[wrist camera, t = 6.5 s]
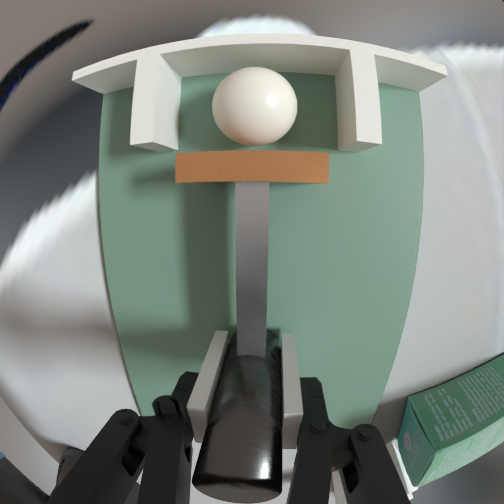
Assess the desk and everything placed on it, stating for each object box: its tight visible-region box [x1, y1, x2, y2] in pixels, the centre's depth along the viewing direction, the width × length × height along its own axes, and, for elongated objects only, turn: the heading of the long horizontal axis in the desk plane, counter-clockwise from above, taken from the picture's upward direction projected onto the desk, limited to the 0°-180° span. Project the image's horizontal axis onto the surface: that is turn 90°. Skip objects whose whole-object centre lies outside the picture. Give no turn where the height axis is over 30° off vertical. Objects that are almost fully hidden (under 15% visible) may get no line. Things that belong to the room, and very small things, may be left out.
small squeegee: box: [175, 150, 329, 503], centre depth 10 cm, size 6×13×10 cm, turn 0°
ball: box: [212, 67, 297, 146], centre depth 12 cm, size 4×4×4 cm
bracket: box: [332, 441, 418, 504], centre depth 18 cm, size 13×7×8 cm, turn 35°
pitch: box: [72, 34, 448, 429], centre depth 15 cm, size 20×28×4 cm
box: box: [398, 354, 504, 487], centre depth 15 cm, size 7×14×8 cm, turn 102°
